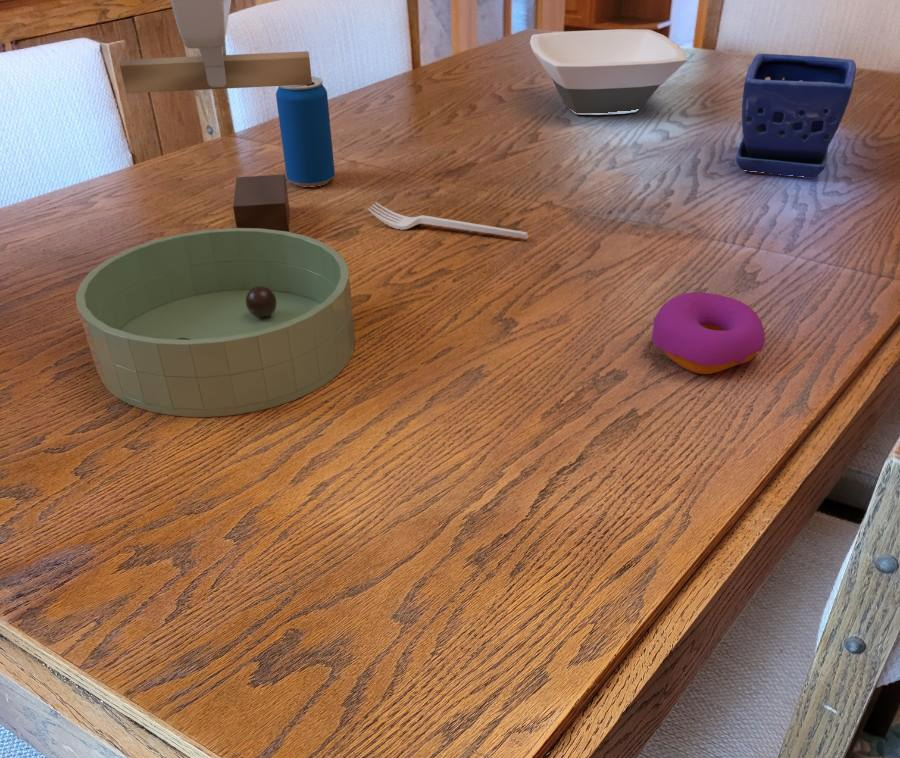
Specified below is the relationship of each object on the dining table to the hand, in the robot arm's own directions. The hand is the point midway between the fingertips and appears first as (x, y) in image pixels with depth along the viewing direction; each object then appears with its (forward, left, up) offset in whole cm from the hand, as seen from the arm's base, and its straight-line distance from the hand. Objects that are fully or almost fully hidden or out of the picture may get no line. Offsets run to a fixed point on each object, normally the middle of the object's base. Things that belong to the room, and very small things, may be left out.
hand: (219, 80), depth 89 cm
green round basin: (-2, -19, -19) cm, 27 cm away
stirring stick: (0, 0, -1) cm, 1 cm away
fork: (+23, +7, -19) cm, 31 cm away
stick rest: (+1, +13, -19) cm, 23 cm away
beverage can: (+7, +27, -19) cm, 34 cm away
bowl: (+54, +54, -19) cm, 79 cm away
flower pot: (+71, +22, -19) cm, 77 cm away
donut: (+43, -27, -19) cm, 55 cm away
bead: (+2, -14, -17) cm, 22 cm away
